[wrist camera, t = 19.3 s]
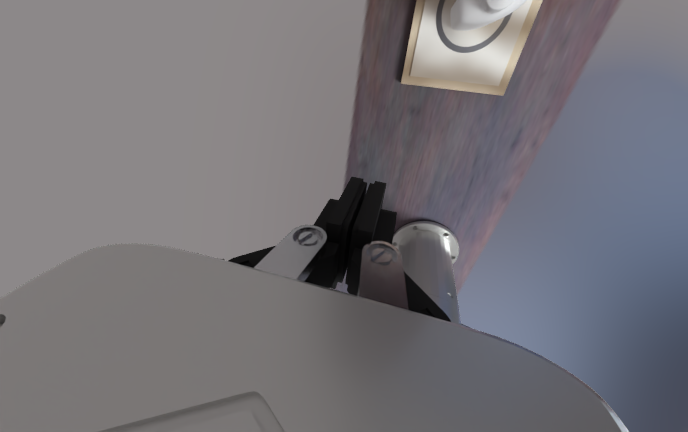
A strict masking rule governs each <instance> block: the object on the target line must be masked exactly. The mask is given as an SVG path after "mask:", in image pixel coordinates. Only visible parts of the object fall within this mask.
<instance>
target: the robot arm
mask: <svg viewBox="0 0 688 432" xmlns="http://www.w3.org/2000/svg"><path fill="white" fill-rule="evenodd" d="M366 187H367V183H366V182H363V179H361V178H356V177H351V179H350V181H349V183H348V185H347V186H346V188H345V190H344V192H343V193H342V195H341V197H340V199H339V200H334V199H330V200H329V201H328V203H327V204H326V206H325V208H324V209H323V211H322V212H321V214H320V216H319V217H318V219H317V220H316V222H315V224H314V225H303V226H299V227H297V228H295V229H294V230H292V231H291V232H290V233H289V234H288V235H287V236H286V237H285V238H284V239H283V240H282V241H281V242H280V243H279V244H278V245H277V246H273V247H270V248H267V249H263V250H260V251H256V252H252V253H249V254H246V255H242V256H239V257H236V258H233V259H231V260H229V261H225V260H224V259H218V258H214V257H210V256H206V255H202V254H198V253H193V252H189V251H185V250H180V249H176V248H171V247H166V246H160V245H153V244H137V243H134V244H133V243H132V244H115V245H107V246H101V247H97V248H93V249H90V250H88V251H85V252H83V253H81V254H79V255H77V256H75V257H73V258H71V259H69V260H67V261H65V262H63V263H61V264H59V265H57V266H55V267H53V268H51V269H50V270H48V271H46V272H44V273H42V274H41V275H39V276H37V277H35V278H33V279H32V280H30V281H28V282H26V283H25V284H23V285H21V286H20V287H18V288H16V289H14V290H13V291H11V292H9V293H7V294H6V295H4V296H2V297H1V298H0V432H629V431H628V429H627V428H626V427H625V425H624V424H623V422H622V421H621V420H620V419H619V417H618V416H617V415H616V413H615V412H614V411H613V410H612V409H611V407H610V406H609V405H608V404H607V403H606V402H605V401H604V399H603V398H601V397H600V396H599V395H598V394H597V393H596V392H595V391H594V390H593V389H592V388H591V387H589V386H588V385H587V384H585V383H584V382H583V381H581V380H580V379H579V378H577V377H576V376H574V375H573V374H571V373H570V372H568V371H567V370H565V369H564V368H562V367H560V366H558V365H557V364H555V363H553V362H552V361H550V360H548V359H546V358H545V357H543V356H541V355H539V354H537V353H535V352H533V351H531V350H528V349H526V348H524V347H522V346H520V345H518V344H515V343H512V342H510V341H507V340H505V339H502V338H500V337H497V336H494V335H491V334H487V333H484V332H481V331H478V330H475V329H472V328H470V327H468V326H465V325H463V324H461V317H460V312H459V305H458V300H457V292H456V286H455V279H454V273H453V266H452V265H453V264H454V262H455V261H456V260H457V257H458V255H459V245H458V241H457V238H456V237H455V235H454V234H453V233H452V232H451V231H450V230H449V229H448V228H446V227H445V226H443V225H441V224H438V223H435V222H430V221H417V222H412V223H409V224H406V225H404V226H402V227H401V228H400V229H398V230H397V231H396V233H395V234H394V228H395V222H396V215H397V212H392V211H387V210H383V209H381V208H382V203H383V198H384V193H385V188H386V183H382V182H377V181H375V183H374V184H371V183H370V185H369V188H368V190H367V193H366ZM365 194H366V195H365ZM346 270H347V275H346V283H345V284H348V288H347V291H348V293H349V294H348V293H344V292H341V291H337V290H333V289H335V288H336V285H337V283H338V282H340V283H342V281H343V279H344V276H345V273H346ZM330 288H333V289H330Z"/></svg>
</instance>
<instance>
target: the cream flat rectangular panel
mask: <svg viewBox="0 0 688 432" xmlns="http://www.w3.org/2000/svg"><path fill="white" fill-rule="evenodd" d="M542 1H543V0H526V2H525V3H524V4H523V5H522V6H520V7H519V8H518V9H516V10H515V11H513V12H512V13H510V14H509V15H507V16H505V17H503V18H501V19H499V20H497V21H495V22H493V23H490V24H488V25H486V26H484V27H481V28H478V29H475V30H469V31H457V30H453V29H452V28H451V18H450V11H451V8H452V6H453V5H454V3H455V2H456V0H417V1H416V6H415V12H414V17H413V22H412V27H411V33H410V38H409V43H408V48H407V54H406V59H405V64H404V69H403V75H402V80H401V84H410V85H418V86H427V87H435V88H443V89H452V90H460V91H468V92H477V93H485V94H493V95H502V96H503V95H504V93H505V90H506V88H507V85H508V83H509V80H510V78H511V76H512V73H513V71H514V68H515V66H516V63H517V61H518V59H519V56H520V54H521V51H522V49H523V47H524V44H525V42H526V39H527V37H528V34H529V32H530V30H531V27H532V25H533V22H534V20H535V17H536V15H537V13H538V10H539V8H540V5H541V3H542Z"/></svg>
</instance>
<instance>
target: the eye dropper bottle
mask: <svg viewBox="0 0 688 432" xmlns="http://www.w3.org/2000/svg"><path fill="white" fill-rule="evenodd" d="M525 2H526V0H456V2H455V3H454V5H453V6H452V8H451V11H450V18H451V28H452V29H453V30H457V31H469V30H475V29H478V28H481V27H484V26H486V25H488V24H490V23H493V22H495V21H497V20H499V19H501V18H503V17H505V16H507V15H509V14H510V13H512V12H513V11H515V10H516V9H518V8H519V7H520V6H522V5H523V4H524V3H525Z"/></svg>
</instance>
